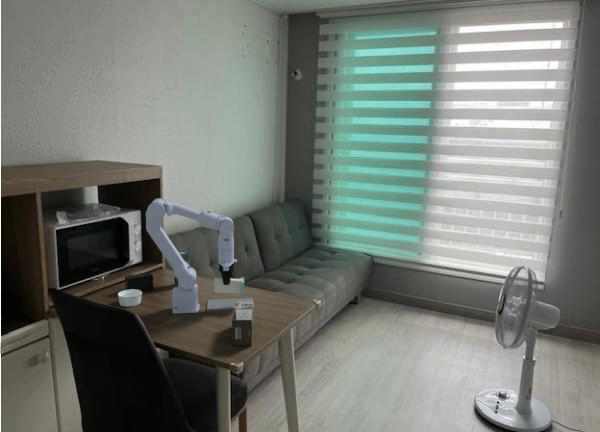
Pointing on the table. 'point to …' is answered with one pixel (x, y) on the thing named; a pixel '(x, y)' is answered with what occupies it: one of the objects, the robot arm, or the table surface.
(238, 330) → the coffee box
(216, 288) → the two-tone t-shaped block
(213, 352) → the table surface
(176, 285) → the green electronic module
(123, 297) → the ramekin
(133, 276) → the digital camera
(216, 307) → the tool mat
